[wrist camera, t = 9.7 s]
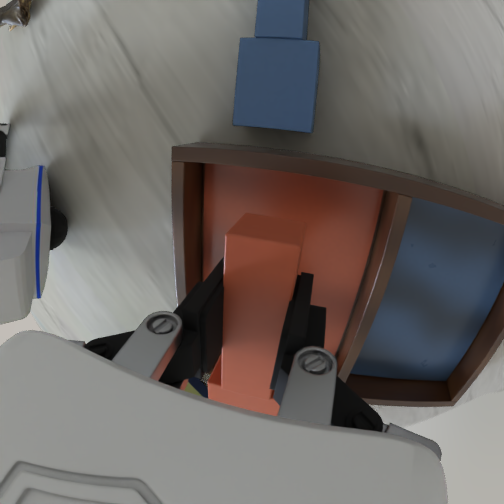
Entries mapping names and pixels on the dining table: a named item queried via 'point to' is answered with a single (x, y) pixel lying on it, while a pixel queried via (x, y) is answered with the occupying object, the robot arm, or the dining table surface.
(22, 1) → the shark head
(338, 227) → the cutlery tray
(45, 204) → the robotic device
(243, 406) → the orange stepped bar
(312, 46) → the blue tall stepped post
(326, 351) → the robot arm
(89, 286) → the dining table surface
